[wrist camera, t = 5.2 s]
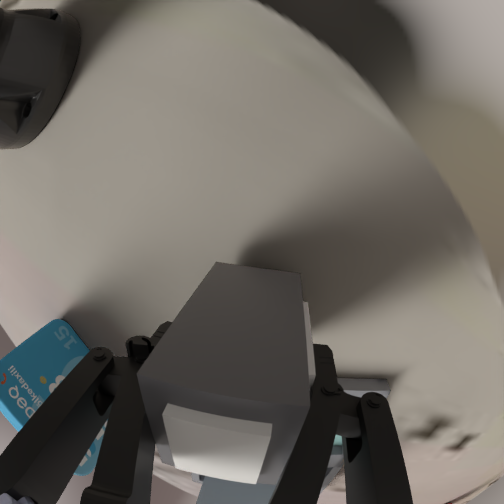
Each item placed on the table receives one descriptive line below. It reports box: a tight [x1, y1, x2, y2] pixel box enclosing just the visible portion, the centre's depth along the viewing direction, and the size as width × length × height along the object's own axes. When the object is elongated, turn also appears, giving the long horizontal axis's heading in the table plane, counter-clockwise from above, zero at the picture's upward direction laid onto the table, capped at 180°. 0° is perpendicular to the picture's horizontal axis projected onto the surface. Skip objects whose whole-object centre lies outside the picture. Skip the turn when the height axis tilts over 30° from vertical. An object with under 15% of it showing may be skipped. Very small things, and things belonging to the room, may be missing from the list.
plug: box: [137, 262, 310, 485], centre depth 12 cm, size 6×5×10 cm
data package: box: [0, 319, 108, 476], centre depth 18 cm, size 12×4×12 cm, turn 36°
